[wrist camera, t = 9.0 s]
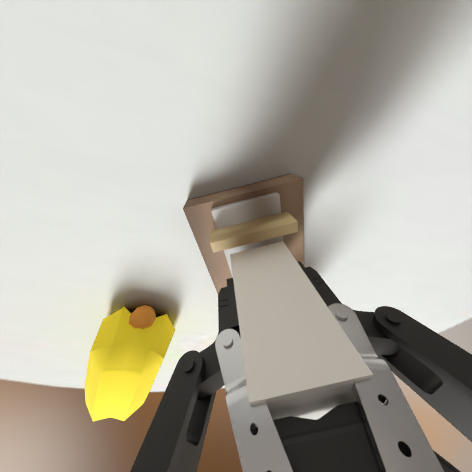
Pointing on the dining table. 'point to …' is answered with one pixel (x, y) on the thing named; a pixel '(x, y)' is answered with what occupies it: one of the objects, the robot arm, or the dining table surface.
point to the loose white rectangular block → (290, 337)
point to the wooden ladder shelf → (247, 222)
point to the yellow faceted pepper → (125, 361)
